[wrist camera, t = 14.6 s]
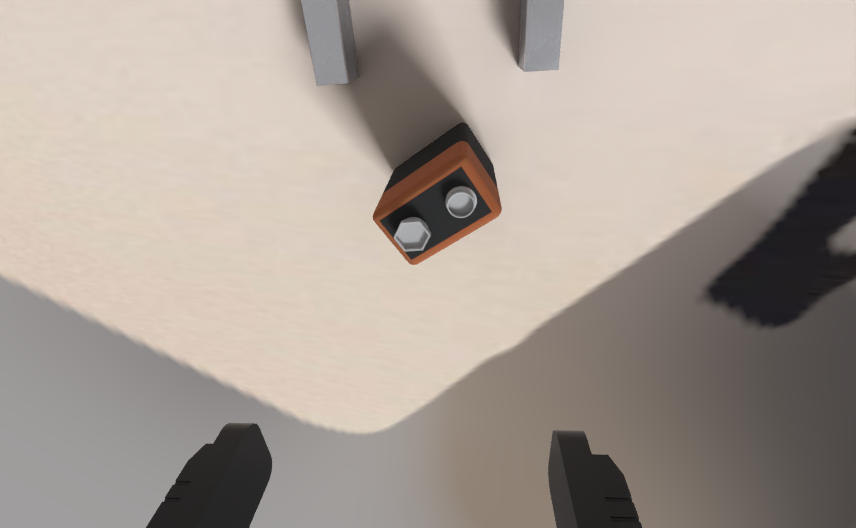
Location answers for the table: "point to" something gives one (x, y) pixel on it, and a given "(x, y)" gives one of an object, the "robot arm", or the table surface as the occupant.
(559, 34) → the housing
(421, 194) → the battery
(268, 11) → the table surface
